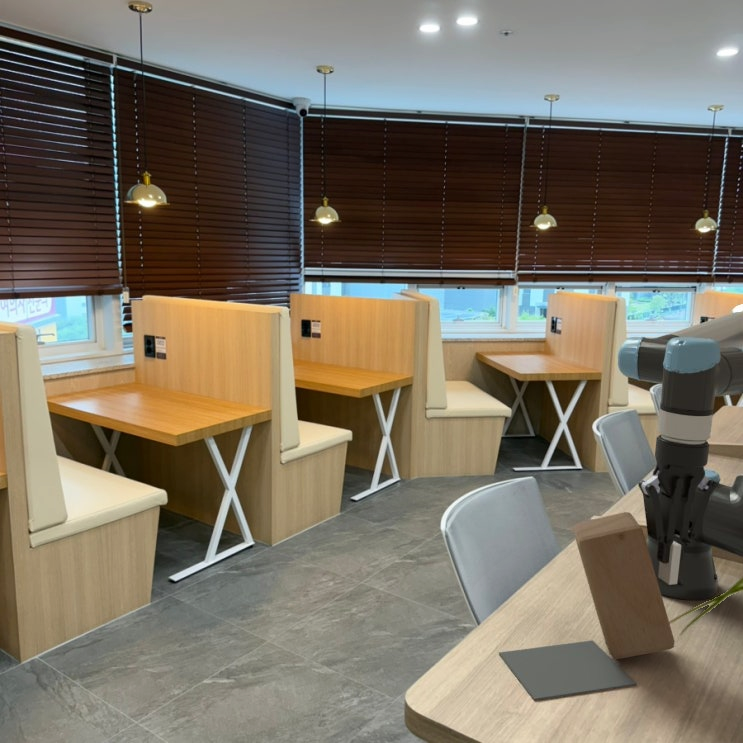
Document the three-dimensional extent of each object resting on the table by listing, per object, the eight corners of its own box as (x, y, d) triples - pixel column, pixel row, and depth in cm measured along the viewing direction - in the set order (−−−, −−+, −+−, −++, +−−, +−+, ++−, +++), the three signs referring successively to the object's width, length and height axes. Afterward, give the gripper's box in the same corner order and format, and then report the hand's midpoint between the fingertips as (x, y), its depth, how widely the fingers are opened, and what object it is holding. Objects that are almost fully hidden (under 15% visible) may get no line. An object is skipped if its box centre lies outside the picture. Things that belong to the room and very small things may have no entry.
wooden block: (678, 650, 106) (642, 525, 106) (612, 662, 108) (577, 540, 108) (663, 623, 116) (630, 509, 116) (603, 635, 118) (570, 522, 118)
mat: (592, 642, 115) (592, 640, 115) (636, 685, 104) (636, 683, 104) (498, 654, 111) (498, 652, 111) (534, 700, 100) (534, 698, 100)
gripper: (701, 430, 112) (685, 566, 116) (631, 433, 109) (618, 573, 113) (736, 442, 105) (718, 587, 109) (662, 445, 102) (647, 595, 105)
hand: (667, 580), depth 111 cm, fingers closed
